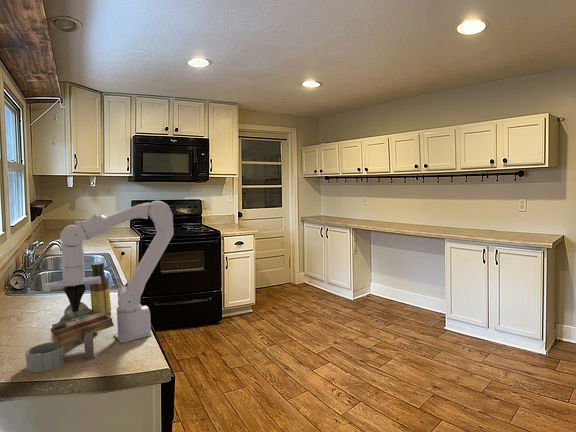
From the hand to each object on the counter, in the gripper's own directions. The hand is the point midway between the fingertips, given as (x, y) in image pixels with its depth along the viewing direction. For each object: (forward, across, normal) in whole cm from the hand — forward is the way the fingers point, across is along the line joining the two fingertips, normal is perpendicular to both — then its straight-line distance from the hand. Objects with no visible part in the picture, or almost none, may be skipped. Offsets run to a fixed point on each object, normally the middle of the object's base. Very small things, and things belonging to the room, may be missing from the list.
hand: (75, 310), depth 118 cm
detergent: (+11, -4, -16) cm, 20 cm away
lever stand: (+10, 0, +6) cm, 12 cm away
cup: (+10, +9, +9) cm, 17 cm away
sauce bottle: (+10, -12, -21) cm, 27 cm away
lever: (+3, 0, +6) cm, 7 cm away
